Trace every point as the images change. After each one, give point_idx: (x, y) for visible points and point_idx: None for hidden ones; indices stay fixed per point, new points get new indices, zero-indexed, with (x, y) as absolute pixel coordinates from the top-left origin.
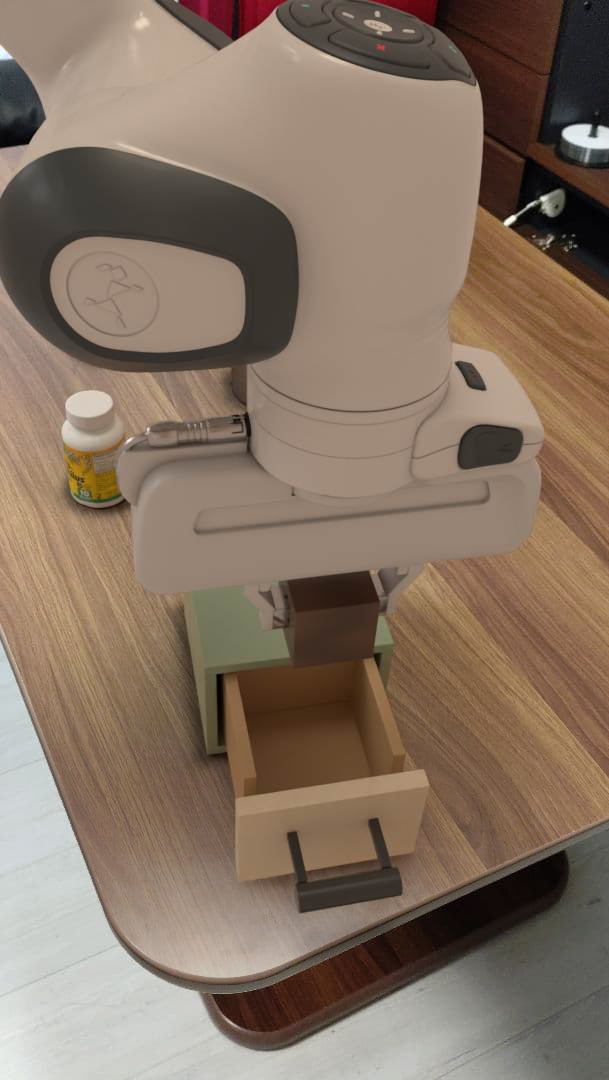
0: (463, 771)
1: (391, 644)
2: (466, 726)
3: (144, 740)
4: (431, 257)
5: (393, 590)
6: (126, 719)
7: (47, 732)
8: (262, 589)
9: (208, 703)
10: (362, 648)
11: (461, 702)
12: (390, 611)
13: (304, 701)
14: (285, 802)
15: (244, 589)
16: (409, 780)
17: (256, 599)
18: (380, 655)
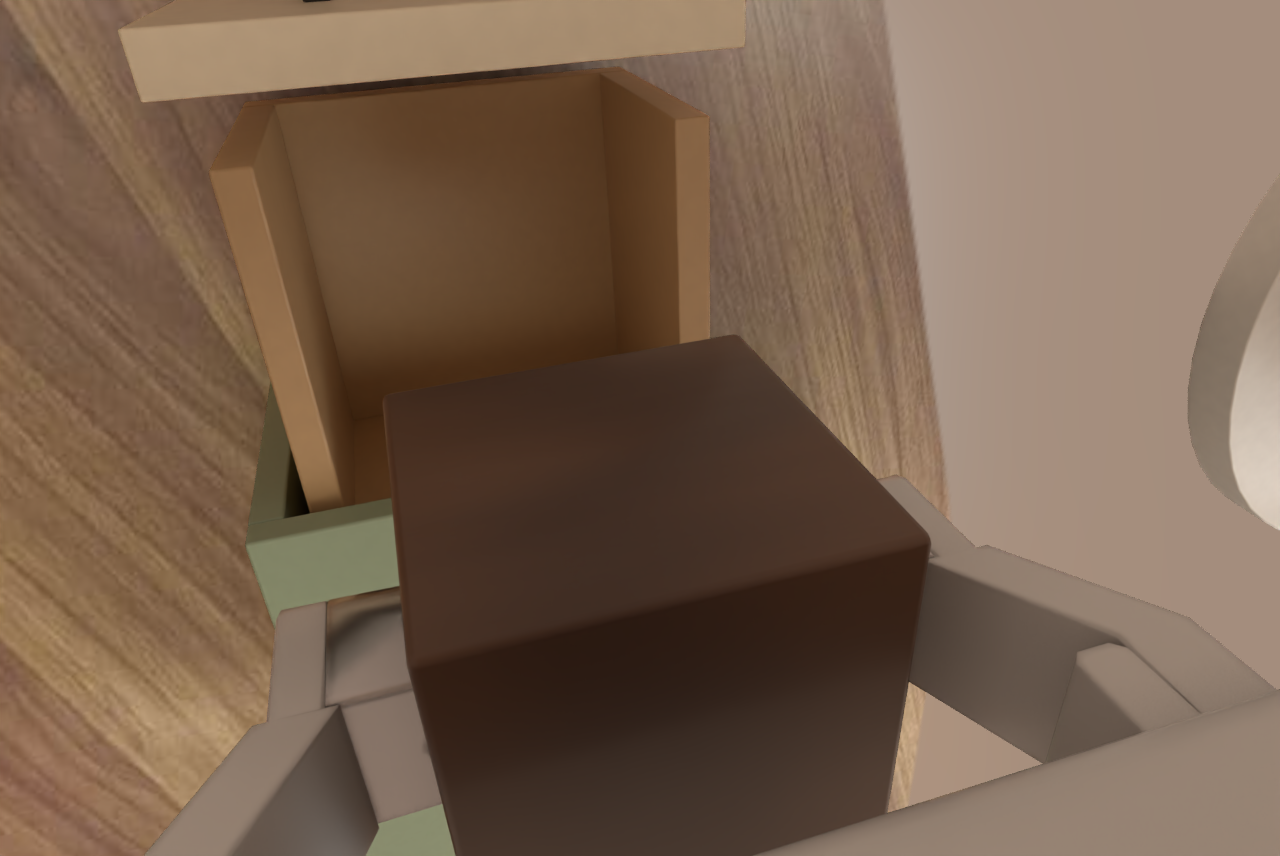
0: (41, 244)
1: (254, 541)
2: (36, 371)
3: (771, 333)
4: None
5: (297, 751)
6: (796, 377)
7: (926, 349)
8: (1117, 657)
9: None
10: (450, 420)
11: (52, 436)
12: (302, 622)
13: None
14: (611, 15)
15: (1218, 644)
16: (196, 59)
17: (1084, 600)
18: (286, 511)
